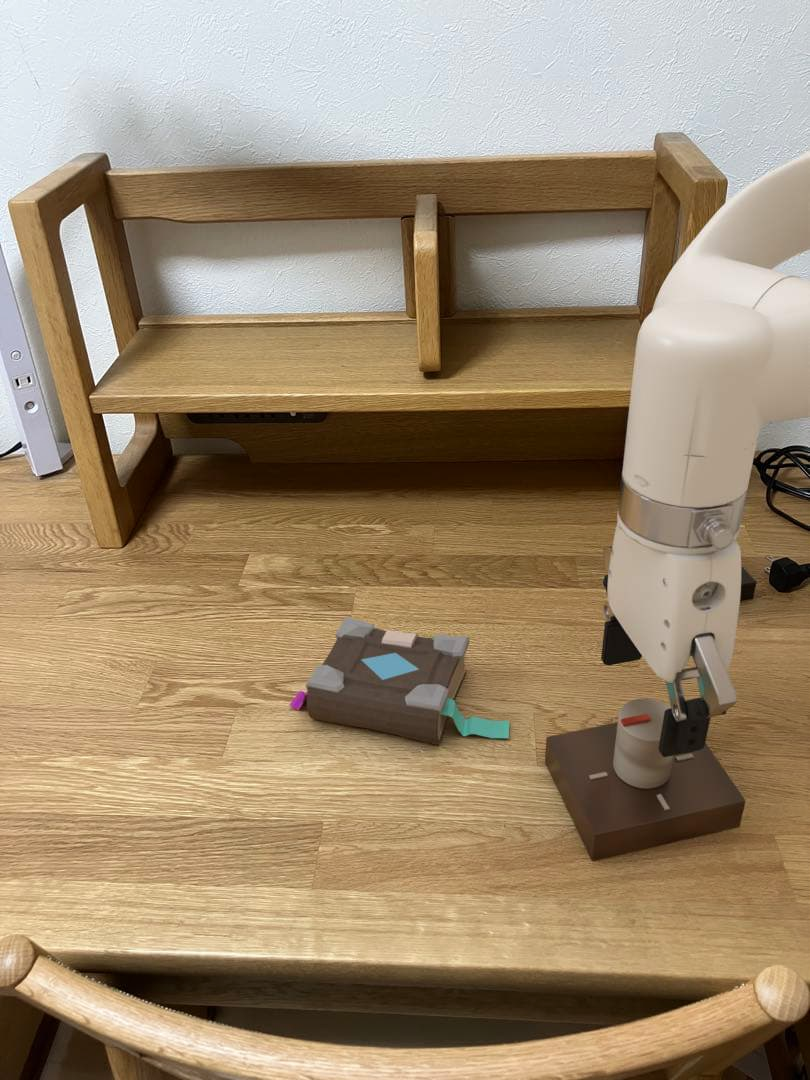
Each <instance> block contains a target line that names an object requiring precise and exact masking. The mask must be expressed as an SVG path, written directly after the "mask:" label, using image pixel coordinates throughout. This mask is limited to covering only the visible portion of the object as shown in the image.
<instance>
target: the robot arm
mask: <svg viewBox="0 0 810 1080" xmlns="http://www.w3.org/2000/svg"><path fill="white" fill-rule="evenodd" d="M808 251H810V150H808V151H806V152H804V153H802V154H801V155H799V156H796V157H795V158H793V159H791V160H790V161H788V162H785V163H784V164H782V165H780V166H778V167H776V168H775V169H773V170H771V171H768V172H767V173H765V174H763V175H761V176H759V177H758V178H757V179H755V180H753V181H752V182H750V183H749V184H747V185H746V186H744V187H743V188H742V189H740V190H739V191H738V192H736V193H735V194H734V195H733V196H732V197H730V198H729V199H728V200H727V201H726V202H725V203H724V204H723V205H722V206H721V207H720V208H718V209H717V211H716V212H715V213H714V214H713V216H712V217H711V218H710V219H709V220H708V221H707V223H706V224H705V225H704V226H703V228H702V229H701V230H700V232H699V233H698V234H697V235H696V236H695V237H694V239H693V240H692V241H691V243H689V245H688V246H687V248H686V249H685V250H684V251H683V253H681V255H680V257H679V258H678V259H677V261H676V262H675V263H674V265H673V266H672V268H671V270H670V271H669V272H668V274H667V276H666V278H665V280H664V281H663V283H662V285H661V286H660V289H659V291H658V293H657V295H656V297H655V301H654V303H653V306H652V310H651V312H650V313H649V314H648V315H647V316H646V317H645V318H644V320H643V322H642V324H641V326H640V328H639V330H638V333H637V338H636V344H635V352H634V360H633V361H634V362H633V371H632V380H631V388H630V396H629V397H630V398H629V406H628V414H627V415H628V416H627V425H626V434H625V443H624V453H623V462H622V464H623V465H622V471H621V479H620V488H619V494H618V495H619V497H618V506H617V515H616V520H617V521H616V522H617V523H616V526H615V531H614V535H613V536H614V537H613V542H612V546H611V545H610V546H605V547H603V550H602V551H603V561H604V570H605V573H606V574H605V575H604V577H603V581H602V585H603V587H604V588H605V589H604V590H605V593H606V597H607V602H605V603H604V604H603V608H602V609H603V614H604V617H605V618H606V619H607V620H605V621H604V628H603V638H602V647H601V653H600V660H601V661H602V663H603V665H605V666H614V665H619V664H624V663H630V662H635V661H639V660H641V659H642V658H643V660H644V661H645V662H646V663H647V665H648V666H649V668H650V669H651V670H652V671H653V672H654V674H655V675H656V676H657V677H659V678H660V679H661V680H663V681H664V682H665V685H666V690H667V694H668V699H669V704H670V709H667V710H665V713H664V719H663V725H662V731H661V736H660V742H659V751H660V753H661V755H662V756H663V757H669V756H673V755H678V754H683V753H690V752H694V751H697V750H701V749H702V748H703V747H704V746H705V743H706V742H707V736H708V731H709V727H710V722H711V718H714V717H720V716H724V715H726V714H727V711H728V710H730V708H732V707H733V706H734V705H735V704H736V703H737V701H738V696H737V692H736V690H735V687H734V684H733V682H732V680H731V677H730V675H729V673H728V671H729V669H730V666H731V662H732V659H733V653H734V648H735V643H736V636H737V629H738V622H739V614H740V605H741V601H740V594H741V566H742V551H741V546H740V544H739V542H737V538H738V536H739V533H740V529H741V523H742V520H743V519H742V518H743V513H744V509H745V503H746V498H747V495H748V494H747V493H748V488H749V483H750V478H751V473H752V468H753V463H754V458H755V453H756V450H757V449H756V447H757V443H758V438H759V433H760V431H761V429H762V428H763V427H764V426H765V425H769V424H774V423H780V422H787V421H793V420H799V419H806V418H810V279H806V278H804V277H801V276H798V275H794V274H790V273H786V272H781V271H778V270H775V268H777V266H779V265H781V264H783V263H784V262H786V261H788V260H789V259H792V258H793V257H796V256H797V255H799V254H802V253H805V252H808ZM690 657H691V658H692V660H693V662H694V665H695V666H693V667H692V666H691V667H687V668H685V667H686V666H687V664H688V662H689V660H690ZM693 679H696V680H697V686H698V691H699V696H700V697H696V698H691V699H685V695H684V689H683V685H682V681H686V680H693Z"/></svg>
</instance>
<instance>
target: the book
mask: <svg viewBox="0 0 810 1080" xmlns="http://www.w3.org/2000/svg"><path fill="white" fill-rule="evenodd" d="M469 645H470V638H469V637H468V636H460V635H450V634H441V633H439V634H438V633H437V634H436V635H434V636H432V637H424V636H419V634H418V633H415V632H413V633H412V632H400V631H396V630H389V629H387V630H384V629H380V628H377V627H376V626H375V624H374V623H370V622H367V621H364V620H359V619H356V618H352V617H348V616H345V617H344V619H343V620H342V622H341V624H340V625H339V627H338V629H337V630H336V632H335V642H334V644H333V646H332V648H331V650H330V651H329V653H328V655H327V657H326V658H325V660H324V661H323V662H322V664H319V665H316V666H315V668H314V670H313V672H312V674H311V675H310V677H309V679H308V680H307V682H306V684H305V688H306V690H307V691H306V692H305V691H304V690H299V691H298V692H297V694H296V695H295V696H294V698H293V699H292V700H291V702H290V703H289V705H288V706H290V707H293V708H294V709H295V710H300V709H301V708H302V706H303V704H304V703H305V701H306V709H307V714H308V716H309V717H310V719H312V720H318V721H322V722H327V723H333V724H339V725H344V726H345V725H346V726H351V727H356V728H363V729H366V730H367V729H368V730H374V731H378V732H382V733H386V734H391V735H394V736H397V737H403V738H407V739H411V740H415V741H420V742H423V743H428V744H432V745H435V746H440V745H441V742H442V738H443V735H444V732H445V729H446V726H447V723H448V721H449V717H450V718H452V720H453V722H454V725H455V726H456V729H457V731H458V732H459V733H460V734H461V736H462V737H467V736H469V735H477V736H481V737H485V738H489V739H509V738H510V737H509V736H510V720H491V719H486V718H482V717H477V716H471V717H469V718H465V717H464V716H463V714H462V713H461V711H460V709H459V707H458V706H457V702H456V698H457V696H458V694H459V691H460V689H461V686H462V684H463V682H464V680H465V677H466V675H467V669H466V668H465V655H466V653H467V651H468V648H469Z"/></svg>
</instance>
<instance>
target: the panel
mask: <svg viewBox="0 0 810 1080" xmlns="http://www.w3.org/2000/svg"><path fill="white" fill-rule="evenodd" d="M617 725H618V721H617V722H612V723H608V724H603V725H598V726H593V727H588V728H583V729H578V730H573V731H570V732H569V731H568V732H564V733H559V734H554V735H549V736H546V737H545V755H544V764H545V766H546V768H547V770H548V772H549V774H550V777H551V778H552V781H553V782H554V784H555V786H556V787H555V788H556V789H557V791H558V793H559V795H560V797H561V799H562V801H563V803H564V805H565V808H566V810H567V812H568V814H569V816H570V819H571V820H572V822H573V824H574V827H575V828H576V830H577V833H578V835H579V837H580V840H581V841H582V843H583V845H584V847H585V850H586V852H587V854H588V856H589V858H590V860H591V861H592V862H593V861H594V862H595V861H598V860H602V859H603V860H604V859H607V858H611V857H615V856H619V855H624V854H628V853H633V852H637V851H641V850H645V849H650V848H654V847H658V846H663V845H668V844H671V843H675V842H680V841H684V840H689V839H693V838H697V837H702V836H705V835H710V834H714V833H718V832H723V831H727V830H731V829H736V828H740V826H741V823H742V818H743V813H744V810H745V806H746V802H747V800H746V798H745V797H744V796H743V794H742V793H741V791H740V790H739V789H738V787H737V786H736V785H735V783H734V781H733V780H732V778H731V777H730V775H729V774H728V773H727V772H726V770H725V768H724V767H723V766H722V764H721V763H720V761H719V760H718V759H717V757H716V756H715V754H714V752H713V751H712V750H711V748H710V747H709V746H708V744H707V743H706V742H705V746H704V747H703V748H702V749H701V750H697V751H694V752H690V753H683V754H678V755H674V758H673V764H672V770H671V775H670V777H669V779H668V780H667V781H666V782H665V783H664V784H663V785H661V786H659V787H656V788H650V789H644V788H638V787H634V786H632V785H629V784H627V783H626V782H624V781H623V780H622V779H621V778H620V777H619V776H618V775H617V774H616V772H615V770H614V767H613V758H614V750H615V741H616V733H617Z"/></svg>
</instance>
